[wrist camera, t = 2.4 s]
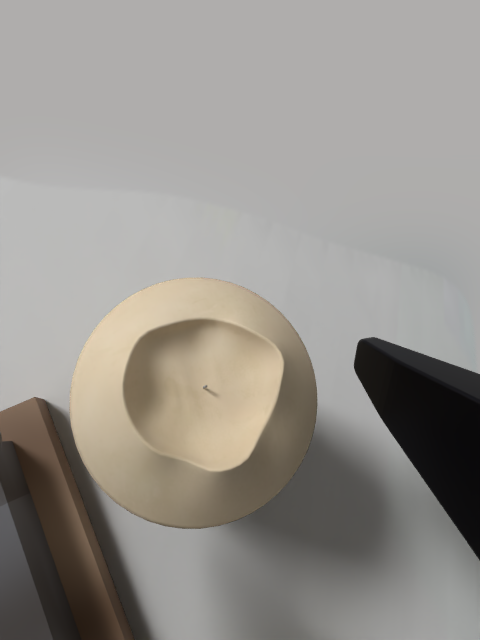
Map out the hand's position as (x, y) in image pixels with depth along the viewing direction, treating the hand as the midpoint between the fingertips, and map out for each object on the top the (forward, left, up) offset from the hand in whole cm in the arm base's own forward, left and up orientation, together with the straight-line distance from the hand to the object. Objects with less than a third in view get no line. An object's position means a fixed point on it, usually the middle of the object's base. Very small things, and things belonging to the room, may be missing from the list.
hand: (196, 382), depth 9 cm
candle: (0, 0, -8) cm, 8 cm away
